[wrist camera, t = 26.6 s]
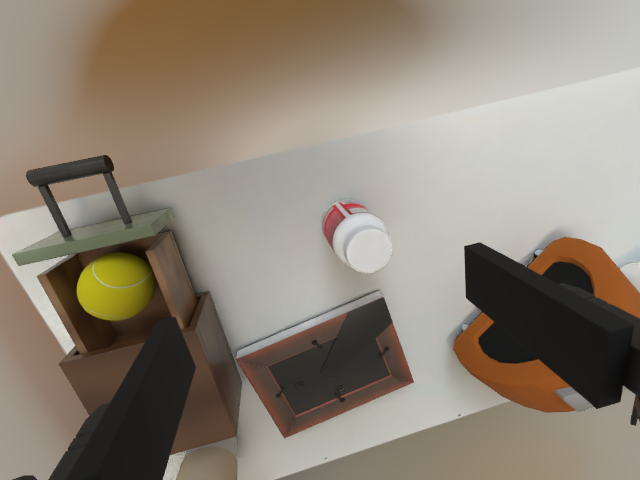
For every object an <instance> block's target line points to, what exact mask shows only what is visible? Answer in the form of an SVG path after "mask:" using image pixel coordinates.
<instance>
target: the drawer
mask: <svg viewBox="0 0 640 480" xmlns="http://www.w3.org/2000/svg"><path fill="white" fill-rule="evenodd" d="M113 170H114V166H113V163H112V161H111V159H110V158H109V157H108V156H107V155H103V156H98V157H93V158H88V159H83V160H78V161H73V162H68V163H63V164H58V165H53V166H48V167H43V168H38V169H33V170H29V171H27V173H26V177H27V180H28V182H29V183H30V184H31V185H33V186H34V187H38V188H39V190H40V192H41V194H42V196H43V198H44V200H45V202H46V204H47V206H48V208H49V210H50V212H51V214H52V216H53V218H54V220H55V222H56V224H57V226H58V228H59V230H60V232H57V233H55V234H53V235H51V236H49V237H47V238H45V239H43V240H41V241H39V242H37V243H35V244H33V245H31V246H29V247H26V248H24V249H22V250H20V251H18V252H16V253H14V254H12V256H13V257H14V259H15V261H16V263H17V264H18V266H21V265H25V264H30V263H34V262H39V261H43V260H48V259H52V258H57V257H61V256H66V255H70V254H71V255H70V256H68V257H67V258H65V259H63V260H62V261H60V262H59V263H57V264H56V265H54V266H52V267H51V268H49V269H48V270H46V271H45V272H43V273H41V274H40V275H38V276H37V278H38V280H39V281H40V283H41V285H42V287H43V288H44V290H45V292H46V294H47V296H48V297H49V299H50V301H51V303H52V305H53V306H54V308H55V310H56V312H57V313H58V315H59V317H60V319H61V321H62V322H63V324H64V326H65V328H66V330H67V331H68V333H69V335H70V337H71V338H72V340H73V342H74V344H75V346H76V347H77V349H78V351H79V353H80V354H84V353H88V352H92V351H96V350H100V349H104V348H108V347H112V346H116V345H120V344H124V343H128V342H132V341H136V340H140V339H144V338H148V336H149V335H150V333H151V331H152V329H153V328H154V326H155V324H156V322H157V321H160V320H164V319H168V318H172V317H176V319H177V322H178V324H179V327H180V329H185V328H189V325H190V323H191V320H192V318H193V315H194V313H195V310H196V308H197V305H198V301H197V299H196V296H195V293H194V291H193V288H192V285H191V283H190V280H189V277H188V275H187V272H186V269H185V267H184V264H183V261H182V258H181V256H180V253H179V250H178V248H177V245H176V242H175V240H174V237H173V234H172V232H171V231H169V232H165V233H160V234H157V233H158V232H159V231H160V230H162V229H163V228H164V227H165V226H166V225H167V224H168V223H169V222H170V221H171V220H172V219H173V218H174V214H173V211H172V208H167V209H162V210H158V211H153V212H149V213H144V214H139V215H135V216H130V215H129V213H128V211H127V208H126V206H125V203H124V201H123V198H122V196H121V194H120V191H119V189H118V186H117V184H116V182H115V179H114V177H113V175H112V171H113ZM99 174H103V175H104V178H105V180H106V182H107V185H108V187H109V189H110V192H111V194H112V196H113V199H114V201H115V203H116V206H117V208H118V211H119V213H120V215H121V219H116V220H112V221H107V222H102V223H98V224H93V225H89V226H84V227H79V228H75V229H69V227H68V225H67V223H66V221H65V219H64V217H63V215H62V213H61V211H60V209H59V207H58V205H57V203H56V201H55V199H54V197H53V195H52V193H51V191H50V189H49V187H48V185H50V184H55V183H60V182H64V181H69V180H74V179H79V178H84V177H89V176H93V175H99ZM117 252H120V253H128V254H132V255H135V256H138V257H140V258H141V259H143V260H145V261H146V262H147V263H148V264H149V265H150V266H151V267H152V269H153V271H154V274H155V277H156V288H155V292H154V295H153V297H152V299H151V301H150V302H149V304H148V305H147V306H146V307H145V308H144V309H143V310H142V311H141V312H139V313H138V314H137V315H135V316H133V317H130V318H128V319H124V320H116V321H113V320H104V319H100V318H97V317H95V316H93V315H91V314H89V313H88V312H86V311H85V310H84V308H83V306H82V305H81V304H80V303H79V300H78V297H77V284H78V280H79V277H80V275H81V273H82V272H83V270H84V269H85V268H86V266H87V265H88V264H89V263H91V262H92V261H93V260H94V259H96V258H97V257H99V256H102V255H104V254H108V253H117Z"/></svg>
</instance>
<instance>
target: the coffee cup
mask: <svg viewBox="0 0 640 480" xmlns="http://www.w3.org/2000/svg"><path fill="white" fill-rule="evenodd" d="M236 451H237V436H236V437H233V438H229V439H226V440H222V441H218V442H215V443H211V444H208V445H204V446H200V447H197V448H193V449H190V450H187V451H186V454H185V457H184V459H183V461H182V463H181V466H180V469H179V472H178V475H177V478H176V480H237V459H236Z"/></svg>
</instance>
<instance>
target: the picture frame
mask: <svg viewBox="0 0 640 480" xmlns="http://www.w3.org/2000/svg"><path fill="white" fill-rule="evenodd" d="M236 360H237V362H238V363H239V365H240V367H241V368H242V370H243V372H244V373H245V375H246V376H247V378H248V380H249V381H250V383H251V385H252V386H253V388H254V389H255V391H256V393H257V394H258V396H259V398H260V399H261V401H262V402H263V404H264V406H265V407H266V409H267V411H268V412H269V414H270V415H271V417H272V419H273V420H274V422H275V424H276V425H277V427H278V428H279V430H280V432H281V433H282V435H283V437H284V438H286V437H288V436H291V435H293V434H295V433H298V432H300V431H302V430H305V429H307V428H309V427H312V426H314V425H316V424H318V423H321V422H323V421H325V420H328V419H330V418H332V417H335V416H337V415H339V414H342V413H344V412H346V411H349V410H351V409H353V408H355V407H358V406H360V405H362V404H365V403H367V402H369V401H372V400H374V399H376V398H379V397H381V396H383V395H385V394H388V393H390V392H392V391H395V390H397V389H399V388H402V387H404V386H406V385H409V384H411V383H413V382H414V381H413V378H412V375H411V373H410V370H409V367H408V364H407V361H406V359H405V356H404V353H403V350H402V347H401V345H400V342H399V339H398V336H397V333H396V331H395V328H394V325H393V322H392V319H391V316H390V313H389V311H388V308H387V305H386V302H385V299H384V297H383V296H382V294H381V293H380V291H377V292H374V293H372V294H370V295H367V296H365V297H363V298H360V299H358V300H356V301H353V302H351V303H348V304H346V305H344V306H341V307H339V308H337V309H334V310H332V311H330V312H327V313H325V314H323V315H320V316H318V317H316V318H313V319H311V320H308V321H306V322H304V323H301V324H299V325H297V326H294V327H292V328H290V329H287V330H285V331H283V332H280V333H278V334H276V335H273V336H271V337H268V338H266V339H264V340H261V341H259V342H257V343H254V344H252V345H250V346H247V347H245V348H243V349H240V350H238V351H237V356H236Z"/></svg>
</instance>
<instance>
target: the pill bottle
mask: <svg viewBox="0 0 640 480" xmlns="http://www.w3.org/2000/svg"><path fill="white" fill-rule="evenodd" d="M322 230H323V233H324V235H325V237H326V238H327V240H328V242H329V244H330V245H331V247H332V249H333V251H334V253H335V254H336V256H337V257H338V259H339V260H340V261H341V262H342V263H344V264H345V265H347V266H349V267H352V268H353V269H355V270H356V271H358V272H361V273H373V272H376V271H378V270H380V269H382V268H383V267H384V266H385V265H386V264H387V263H388V261H389V259H390V257H391V254H392V243H391V240H390V238H389V233H388V230H387V227H386V226H385V224H384V223H383V221H382V220H381V219H379V218H378V217H377V216H376V215H374V214H373V213H372V212H370V211H369V210H368V209H367V208H365V207H364V206H363V205H361V204H360V203H358V202H357V201H354V200H350V199H343V200H339V201H336V202H334V203H333V204H331V205H330V206H329V207H328V208H327V209H326V211H325V213H324V215H323V218H322Z"/></svg>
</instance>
